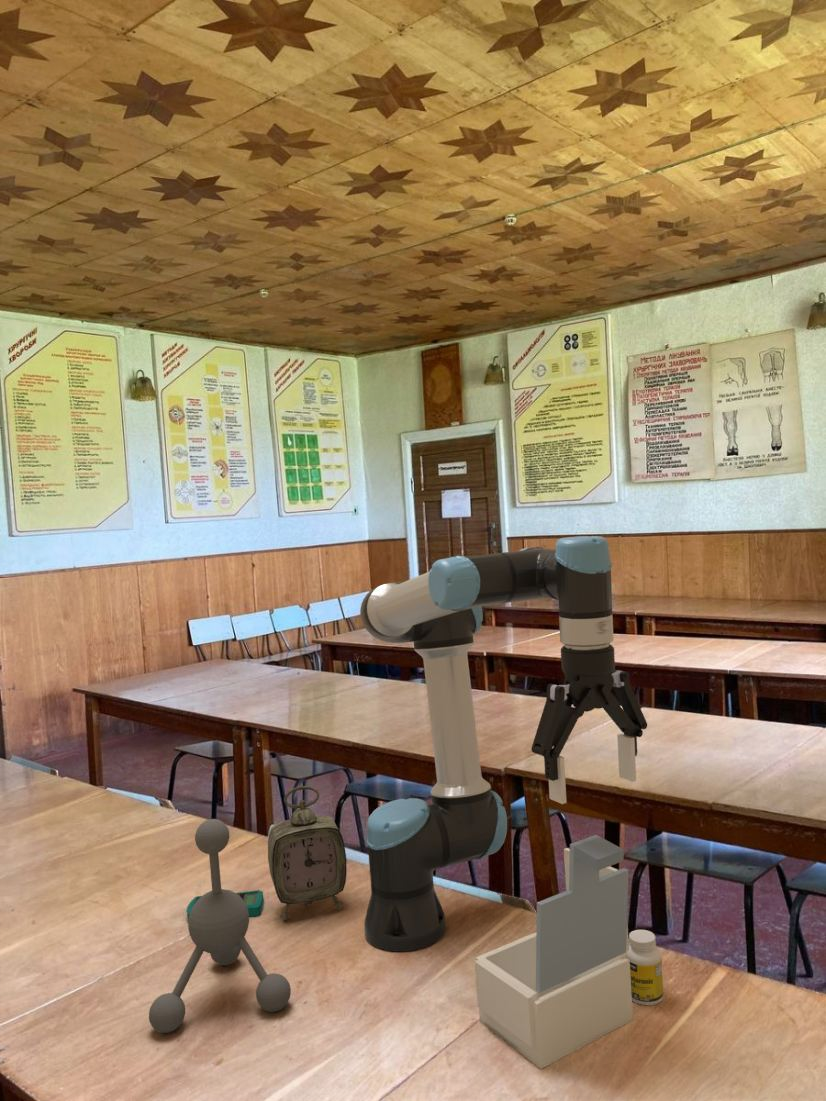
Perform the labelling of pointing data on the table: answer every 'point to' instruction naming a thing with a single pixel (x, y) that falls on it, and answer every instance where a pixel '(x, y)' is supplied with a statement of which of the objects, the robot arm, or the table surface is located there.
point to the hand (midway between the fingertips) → (593, 789)
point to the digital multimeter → (250, 898)
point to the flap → (583, 915)
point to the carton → (550, 999)
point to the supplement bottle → (645, 968)
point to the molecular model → (217, 938)
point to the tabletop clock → (306, 857)
